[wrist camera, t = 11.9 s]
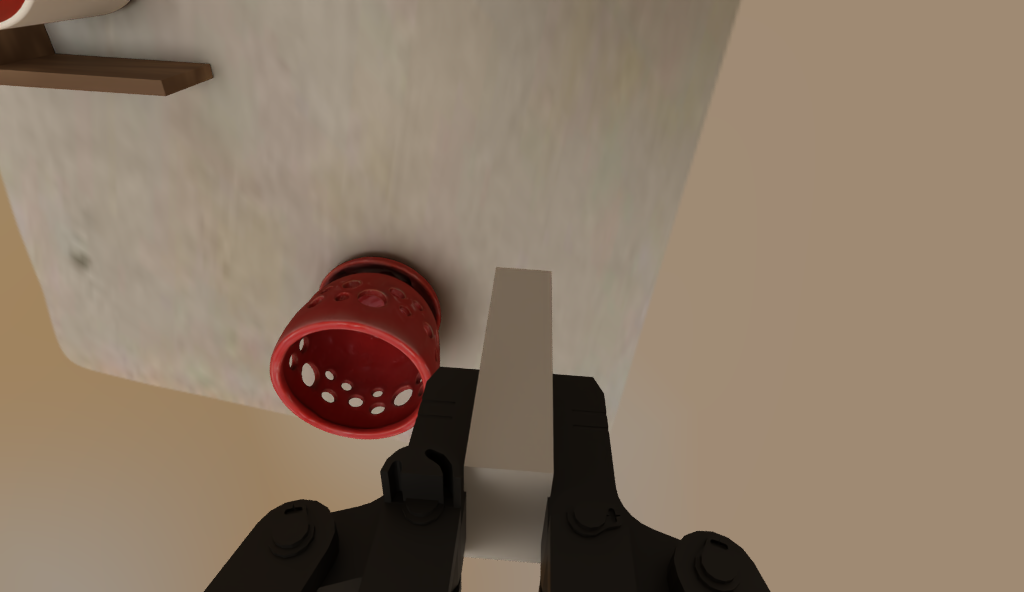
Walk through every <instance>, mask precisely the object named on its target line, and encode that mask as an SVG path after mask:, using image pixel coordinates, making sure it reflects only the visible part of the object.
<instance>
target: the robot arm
mask: <svg viewBox="0 0 1024 592" xmlns="http://www.w3.org/2000/svg"><path fill="white" fill-rule="evenodd" d="M380 473H381V480H382V487H383V496H382V497H380V498H378V499H377V500H375V501H373V502H371V503H368V504H365V505H362V506H359V507H354V508H350V509H345V510H341V511H336V512H330V510H329V509H328V507H326V506H324V505H322V504H321V503H319V502H317V501H312V500H304V499H302V500H296V501H291V502H287V503H284V504H283V505H281V506H279V507H277V508H275V509H273V510H271V511H270V512H269V513H268V514H267V515H266V516H265V517H263V518H262V519H261V520H260V521H259V522H258V523H257V524H256V526H255V527H254V528H253V530H252V531H251V532H250V533H249V535H248V536H247V537H246V539H245V540H244V541H243V542H242V544H241V545H240V546H239V548H238V549H237V550H236V551H235V553H234V554H233V555H232V556H231V558H230V559H229V560H228V562H227V563H226V564H225V565H224V567H223V568H222V569H221V571H220V572H219V573H218V574H217V575H216V577H215V578H214V579H213V581H212V582H211V583H210V584H209V586H208V587H207V588H206V589H205V591H204V592H461V572H462V565H463V558H464V557H471V558H484V559H495V560H508V561H518V562H519V561H520V562H531V563H540V562H541V576H540V586H539V592H770V590H769V589H768V587H767V585H766V583H765V581H764V580H763V578H762V577H761V574H760V573H759V571H758V569H757V568H756V566H755V564H754V562H753V561H752V560H751V559H750V557H749V556H748V555H747V554H746V552H745V551H744V550H743V549H742V548H741V547H740V546H738V545H737V544H736V543H734V542H733V541H732V540H730V539H729V538H727V537H725V536H722V535H720V534H717V533H714V532H709V531H696V532H693V533H690V534H688V535H686V536H684V537H683V538H682V539H681V540H679V539H676V538H674V537H671V536H669V535H666V534H663V533H661V532H658V531H656V530H654V529H651V528H649V527H648V526H646V525H644V524H641V523H640V522H639V521H638V520H636V519H635V518H634V517H632V516H631V515H630V513H629V512H628V511H627V510H626V509H625V508H624V506H623V505H622V503H621V501H620V499H619V497H618V494H617V490H616V485H615V477H614V469H613V462H612V453H611V445H610V437H609V431H608V422H607V416H606V406H605V398H604V393H603V392H602V390H601V389H600V387H599V386H598V384H597V383H596V381H595V380H594V378H593V377H584V376H571V375H558V374H553V371H552V277H551V271H541V270H527V269H514V268H500V267H496V272H495V279H494V285H493V291H492V297H491V303H490V309H489V315H488V321H487V328H486V334H485V340H484V346H483V352H482V358H481V364H480V370H476V369H463V368H450V367H439V368H438V369H437V370H436V372H435V373H434V374H433V375H432V376H431V377H430V378H429V379H428V380H427V382H426V385H425V389H424V393H423V396H422V401H421V403H420V407H419V410H418V415H417V418H416V421H415V425H414V428H413V432H412V435H411V439H410V442H409V446H406V447H404V448H401V449H399V450H398V451H396V452H395V453H394V454H393V455H391V456H390V457H389V458H388V459H387V460H386V462H385V464H384V466H383V467H382V469H381V471H380Z"/></svg>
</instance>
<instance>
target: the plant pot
mask: <svg viewBox="0 0 1024 592" xmlns="http://www.w3.org/2000/svg"><path fill="white" fill-rule="evenodd" d="M440 322H441V309H440V304H439V301H438V298H437V295H436V293H435V292H434V290H433V288H432V287H431V285H430V284H429V283H428V282H427V281H426V280H425V279H424V278H423V277H422V276H421V275H420V274H419V273H417V272H416V271H415V270H413V269H412V268H410V267H408V266H406V265H405V264H402V263H400V262H397V261H394V260H391V259H387V258H381V257H362V258H357V259H353V260H350V261H347V262H345V263H342V264H341V265H339V266H337V267H336V268H334V269H333V270H332V271H331V272H330V273H329V274H328V275H327V276H326V277H325V278H324V280H323V281H322V283H321V286H320V288H319V291H318V292H317V293H316V294H315V295H314V296H313V297H312V298H311V299H310V301H309V302H308V303H306V304H305V305H304V306H303V307H302V308H301V309H300V310H299V311H298V312H297V313H296V315H295V316H294V317H293V318H292V320H291V321H290V322H289V324H288V325H287V327H286V328H285V330H284V331H283V333H282V335H281V337H280V338H279V340H278V342H277V344H276V346H275V348H274V351H273V354H272V357H271V362H270V377H271V381H272V384H273V387H274V389H275V391H276V393H277V394H278V396H279V397H280V399H281V400H282V402H283V403H284V404H285V405H286V406H287V407H288V408H289V409H290V410H291V411H292V412H293V413H294V414H295V415H297V416H298V417H299V418H301V419H302V420H304V421H305V422H307V423H309V424H311V425H313V426H314V427H316V428H319V429H321V430H323V431H326V432H329V433H332V434H336V435H339V436H344V437H348V438H356V439H380V438H387V437H391V436H395V435H398V434H400V433H403V432H405V431H407V430H409V429H411V428H412V427H414V425H415V421H416V418H417V415H418V410H419V407H420V403H421V401H422V396H423V393H424V389H425V385H426V382H427V380H428V379H429V378H430V377H431V376H432V375H433V374H434V373H435V372H436V370H437V369H438V368H439V367H440V346H439V333H438V330H439V327H440ZM302 339H304V345H303V348H302V350H301V351H300V349H299V344H300V341H301V340H302ZM291 355H292V365H291V367H290V365H289V360H290V357H291ZM305 363H308V364H309V365H310V366H311V367H312V369H313V371H314V373H315V381H314V383H313V385H312V386H310V387H309V386H307V385H306V384H305V383H304V382H303V380H302V375H301V374H302V367H303V365H304V364H305ZM326 371H330V372H331V373H332V374H333V376H334V379H333V380H329V379H328V378H327V377H326V376H325V373H326ZM421 379H422V381H421V382H420V380H421ZM342 383H348V384H350V385H351V387H352V388H351V390H349V391H346V390H344V389H343V388H342V387H341V385H342ZM407 389H412V390H413V392H412V396H411V397H410V399H409V400H408V401H407V402H406V403H405V404H403V405H400V406H397V405H395V404H394V400H395V398H396V396H397V395H398V394H399V393H401V392H402V391H404V390H407ZM376 391H382V392H383V394H382V395H381V396H380V397H374V396H373V393H374V392H376ZM323 392H329V393H330V394H332V395H333V397H334V402H332V403H329V402H327V401H325V400H324V399H323V398H322V393H323ZM352 398H360V399H361V400H362V401H363V404H362V405H361V406H359V407H352V406H351V405H350V404H349V400H350V399H352ZM379 406H382V407H385V409H384V411H383V412H382V413H379V414H372V413H371V411H372V409H374V408H375V407H379Z"/></svg>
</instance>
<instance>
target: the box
mask: <svg viewBox="0 0 1024 592" xmlns="http://www.w3.org/2000/svg"><path fill="white" fill-rule="evenodd" d="M212 78H213V75H212V71H211V67H210V64H203V63H188V62H173V61H158V60H142V59H127V58H112V57H97V56H82V55H67V54H55V52H54V50H53V47H52V45H51V42H50V40H49V37H48V35H47V32H46V30H45V27H44V25H43V24H37V25H30V26H23V27H17V28H10V29H3V30H0V85H10V86H25V87H40V88H55V89H69V90H84V91H99V92H114V93H128V94H143V95H158V96H167V95H170V94H172V93H175V92H178V91H180V90H183V89H186V88H188V87H191V86H193V85H196V84H199V83H201V82H204V81H207V80H209V79H212Z"/></svg>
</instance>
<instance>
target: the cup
mask: <svg viewBox="0 0 1024 592" xmlns="http://www.w3.org/2000/svg"><path fill="white" fill-rule="evenodd" d="M129 1H130V0H0V30H3V29H10V28H17V27H23V26H30V25H37V24H44V23H51V22H58V21H65V20H72V19H79V18H86V17H93V16H100V15H105V14H109V13H112V12H114V11H117V10H119V9H120V8H122V7H123V6H125V5H126V4H127V3H128V2H129Z"/></svg>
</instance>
